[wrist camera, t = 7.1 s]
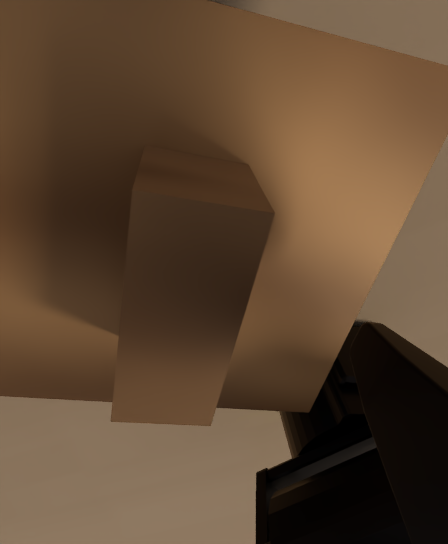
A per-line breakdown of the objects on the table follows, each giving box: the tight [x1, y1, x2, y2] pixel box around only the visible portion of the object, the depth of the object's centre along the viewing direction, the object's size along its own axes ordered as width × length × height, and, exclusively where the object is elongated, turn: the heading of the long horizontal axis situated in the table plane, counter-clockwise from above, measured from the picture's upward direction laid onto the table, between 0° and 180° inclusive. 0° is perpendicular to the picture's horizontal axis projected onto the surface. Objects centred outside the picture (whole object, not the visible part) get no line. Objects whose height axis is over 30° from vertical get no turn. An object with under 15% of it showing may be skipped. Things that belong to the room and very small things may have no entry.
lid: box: [0, 0, 448, 426], centre depth 10 cm, size 12×12×4 cm
